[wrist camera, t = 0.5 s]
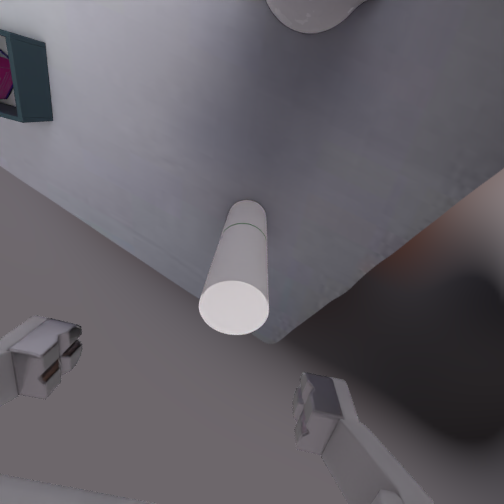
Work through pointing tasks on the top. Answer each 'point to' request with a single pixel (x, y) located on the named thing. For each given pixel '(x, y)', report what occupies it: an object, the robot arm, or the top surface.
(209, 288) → the cylindrical container
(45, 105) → the case
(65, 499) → the robot arm
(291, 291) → the top surface
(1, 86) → the supplement box
